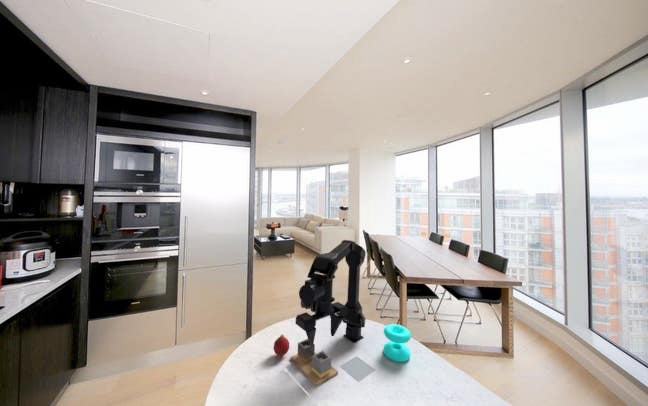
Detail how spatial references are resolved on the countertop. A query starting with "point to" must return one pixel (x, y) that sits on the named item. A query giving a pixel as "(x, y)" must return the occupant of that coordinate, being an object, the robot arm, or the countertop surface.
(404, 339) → the donuts
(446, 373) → the countertop surface
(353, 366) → the mat
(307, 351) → the pin board
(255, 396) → the countertop surface
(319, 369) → the sleeve
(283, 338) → the onion
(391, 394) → the countertop surface
